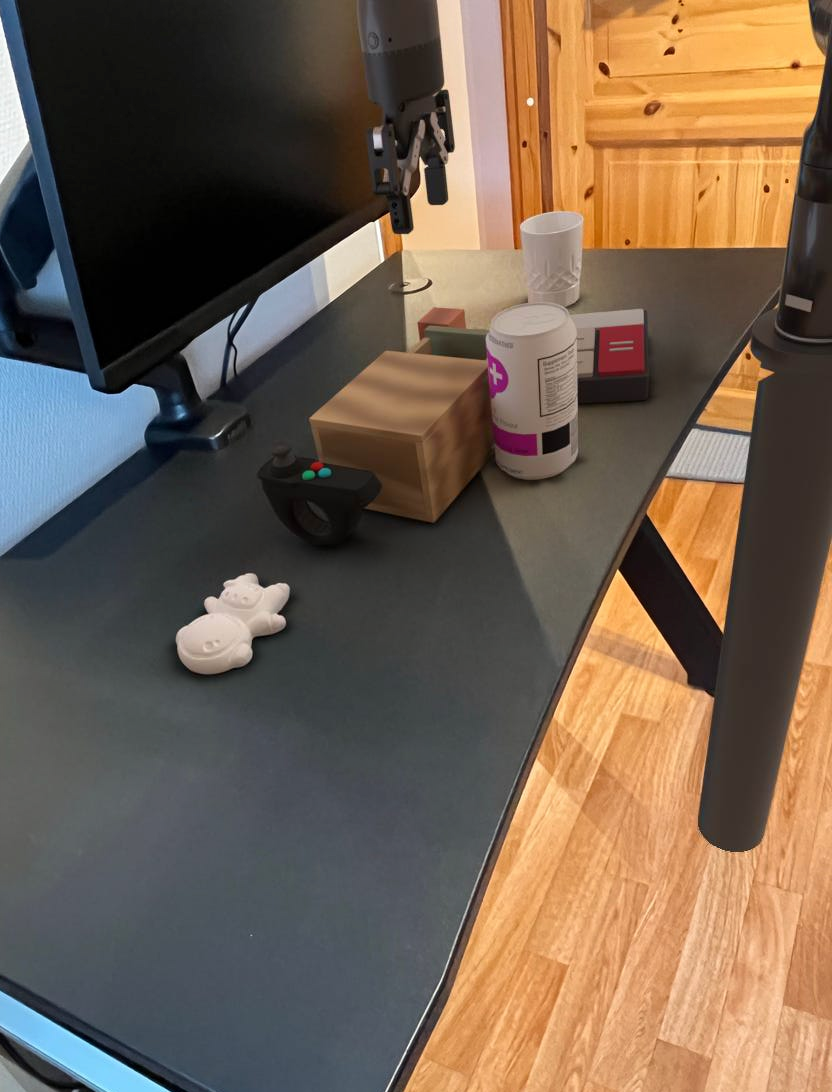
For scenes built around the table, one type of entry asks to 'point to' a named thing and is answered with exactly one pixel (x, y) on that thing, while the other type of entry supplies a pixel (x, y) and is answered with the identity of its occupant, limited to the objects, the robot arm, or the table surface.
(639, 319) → the calculator
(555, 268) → the white cup
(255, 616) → the white animal figurine
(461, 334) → the drawer
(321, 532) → the controller
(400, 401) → the cabinet
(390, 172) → the robot arm
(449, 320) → the block
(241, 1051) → the table surface
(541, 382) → the supplement can
